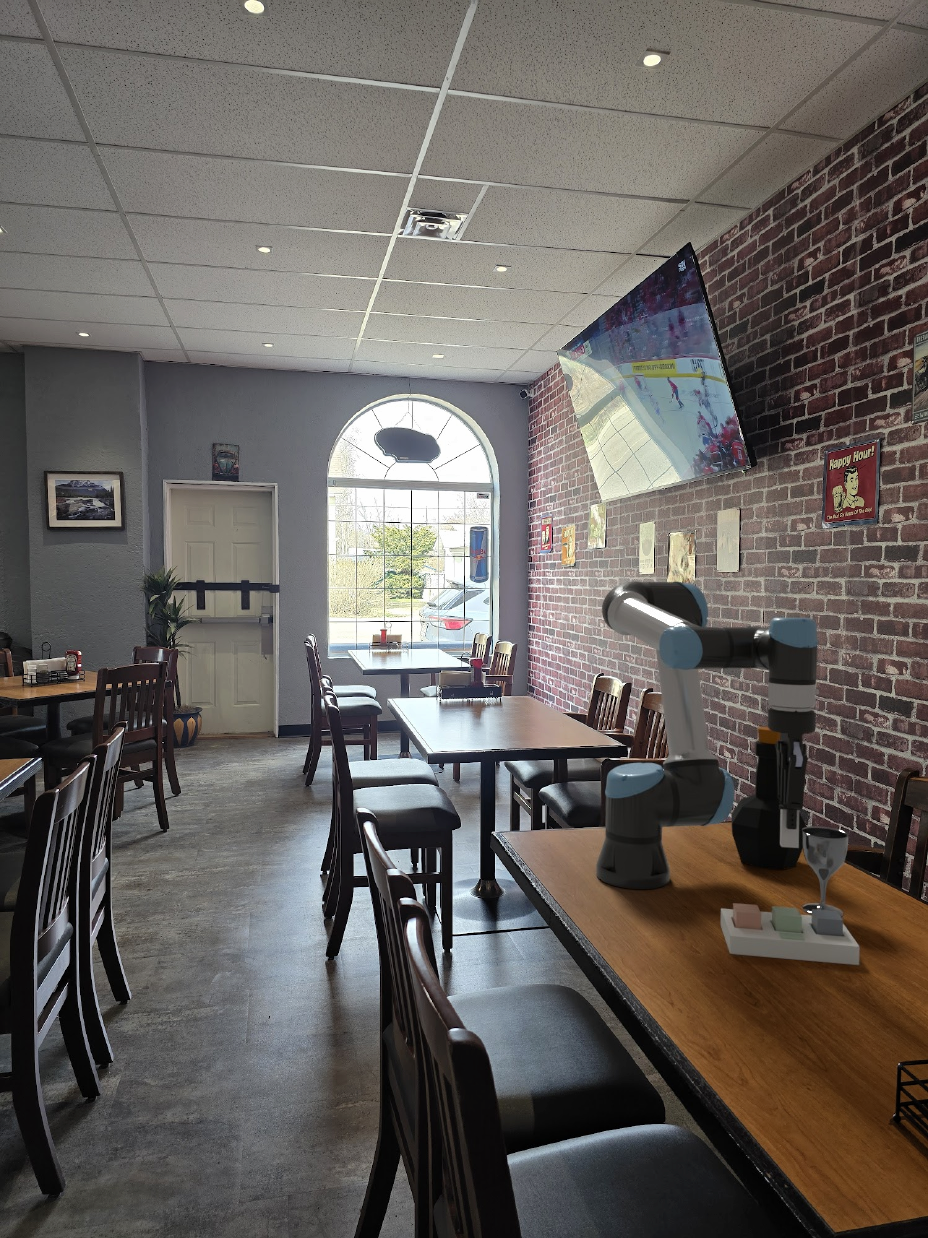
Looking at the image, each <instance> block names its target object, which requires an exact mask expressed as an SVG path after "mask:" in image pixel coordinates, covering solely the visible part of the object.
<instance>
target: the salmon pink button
mask: <svg viewBox="0 0 928 1238" xmlns="http://www.w3.org/2000/svg"><path fill="white" fill-rule="evenodd" d="M732 909H733V923H734V926H735V928H746V929H758V930H761V912H762V911H760V908H759V906H758V904H750V903H749V904H748V903H746V904H745V903H736V902H735V903H732Z"/></svg>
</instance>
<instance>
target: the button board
mask: <svg viewBox="0 0 928 1238" xmlns="http://www.w3.org/2000/svg"><path fill="white" fill-rule="evenodd" d="M760 912H761V930H758V929H746V928H735V926H734V923H733V908H731V909H730V908H720V927H721V930H722V934H723V936H724V939H725V943H726V945H727V950H728V952H729V954H730V955H737V956H738V955H739V956H740V955H741V956H750V957H752V956H753V957H764V958H775V959H783V960H784V959H785V960H797V961H807V962H808V961H810V962H818V963H819V962H821V963H830V964H842V965H843V964H844V965H854V966H860V945H859V944H858V942H857V941H856V939H855V938H854V937H853V936H852V934H851V933H850V931H849V930H848V928H847V926H846V925H845V924H844V923H843V936H831V935H819V934H815V932H814V930H813V929H812V927H811V923H812V915H811V914H800V915H801V916H802V931H801V933H795V932H782V931H775V930H774V928H773V926H772V911H760Z"/></svg>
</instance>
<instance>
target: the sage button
mask: <svg viewBox="0 0 928 1238" xmlns="http://www.w3.org/2000/svg"><path fill="white" fill-rule="evenodd" d="M771 912H772V926H773V928H774V930H775V931H782V932H795V933H801V931H802V916H801V915H802V914H801V913H800V912H799V909H798V908H797V907H787V906H775V905H774V906H773V905H772V907H771Z"/></svg>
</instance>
